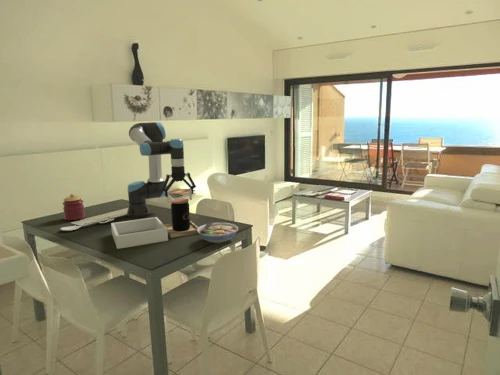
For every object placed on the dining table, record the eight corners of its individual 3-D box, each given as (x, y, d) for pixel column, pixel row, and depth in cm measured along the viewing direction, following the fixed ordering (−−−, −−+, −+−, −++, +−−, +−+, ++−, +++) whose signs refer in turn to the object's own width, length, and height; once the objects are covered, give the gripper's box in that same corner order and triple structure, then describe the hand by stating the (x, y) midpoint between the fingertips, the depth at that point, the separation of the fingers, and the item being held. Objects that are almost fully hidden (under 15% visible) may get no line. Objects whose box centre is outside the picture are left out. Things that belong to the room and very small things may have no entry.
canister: (83, 215, 261) (81, 191, 258) (86, 219, 250) (83, 194, 247) (63, 218, 254) (60, 193, 251) (65, 222, 244) (62, 196, 240)
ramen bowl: (233, 250, 188) (232, 235, 186) (191, 248, 192) (190, 233, 190) (242, 234, 212) (242, 221, 211) (204, 233, 216) (204, 219, 215)
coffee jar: (186, 232, 215) (184, 202, 211) (169, 231, 217) (167, 201, 213) (192, 226, 225) (191, 198, 222) (176, 226, 227) (174, 197, 224)
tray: (162, 228, 226) (162, 224, 226) (191, 224, 234) (190, 220, 233) (170, 238, 209) (170, 234, 208) (200, 233, 216) (200, 229, 216)
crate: (112, 234, 217) (111, 223, 215) (157, 227, 228) (156, 217, 227) (117, 248, 193) (116, 236, 192) (167, 240, 204) (167, 228, 203)
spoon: (115, 223, 241) (114, 218, 241) (63, 234, 220) (62, 228, 219) (109, 220, 248) (109, 215, 247) (58, 231, 226) (58, 225, 225)
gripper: (157, 168, 205) (160, 204, 209) (200, 164, 215) (201, 199, 220) (154, 166, 211) (157, 201, 216) (196, 163, 222) (197, 197, 227)
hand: (179, 200), depth 218 cm, fingers open, 13 cm apart
